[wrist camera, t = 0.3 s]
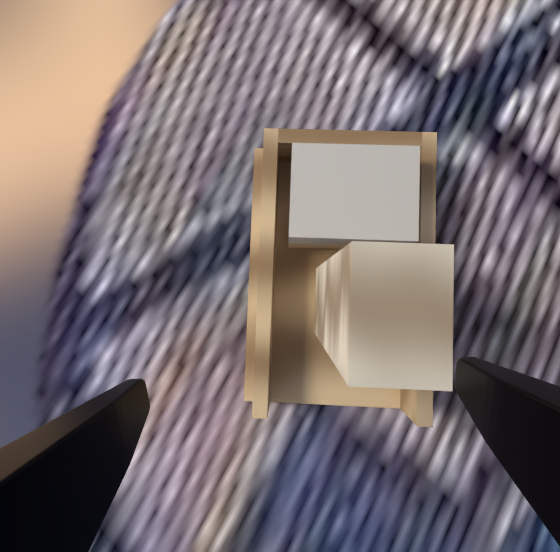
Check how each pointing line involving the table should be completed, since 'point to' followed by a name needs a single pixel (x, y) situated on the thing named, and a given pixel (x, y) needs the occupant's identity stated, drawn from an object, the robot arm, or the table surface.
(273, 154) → the tray
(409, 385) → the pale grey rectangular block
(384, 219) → the offcut top
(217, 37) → the table surface
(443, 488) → the table surface
